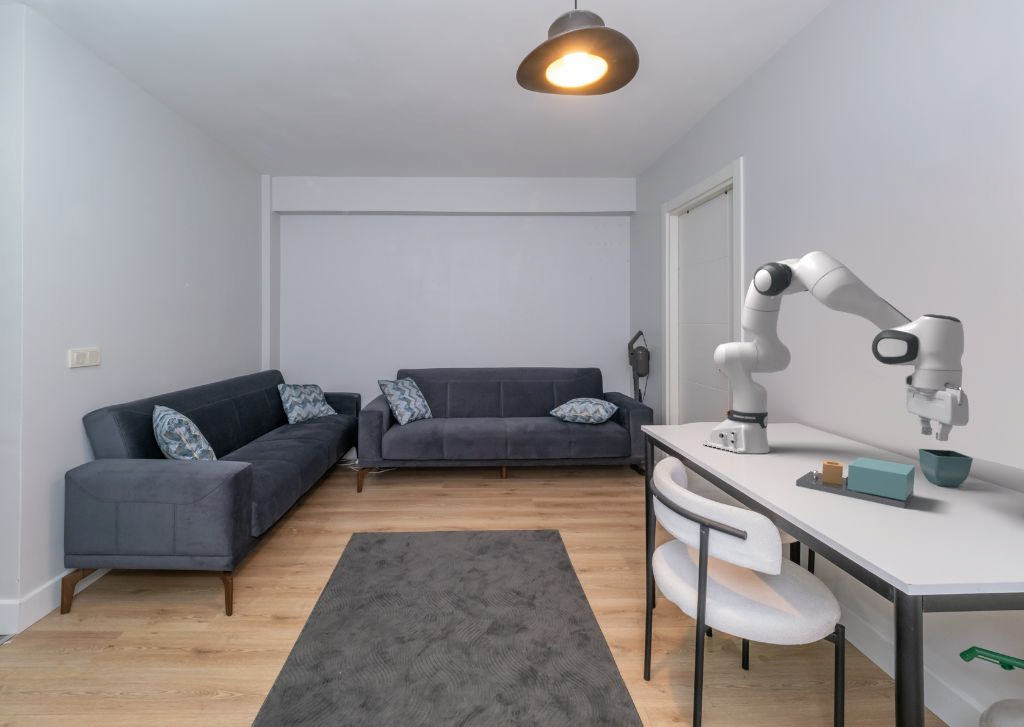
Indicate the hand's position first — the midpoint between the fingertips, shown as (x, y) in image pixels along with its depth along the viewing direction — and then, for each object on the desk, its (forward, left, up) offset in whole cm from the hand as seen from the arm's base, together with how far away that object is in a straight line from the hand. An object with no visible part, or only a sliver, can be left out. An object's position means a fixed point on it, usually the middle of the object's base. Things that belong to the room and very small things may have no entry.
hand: (933, 437), depth 121 cm
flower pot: (0, +26, -18) cm, 31 cm away
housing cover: (-10, 0, -15) cm, 18 cm away
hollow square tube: (-21, 0, -16) cm, 26 cm away
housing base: (-16, 0, -17) cm, 24 cm away
